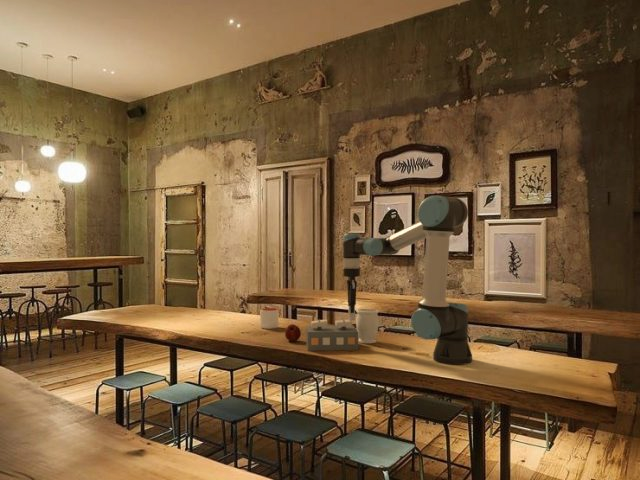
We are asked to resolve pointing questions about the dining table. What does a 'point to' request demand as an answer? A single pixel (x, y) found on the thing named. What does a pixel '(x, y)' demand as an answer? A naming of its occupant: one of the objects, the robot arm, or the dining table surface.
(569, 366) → the dining table surface
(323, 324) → the switch
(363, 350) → the dining table surface
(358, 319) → the jar
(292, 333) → the apple
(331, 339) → the console
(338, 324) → the switch
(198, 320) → the dining table surface
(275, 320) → the cup
